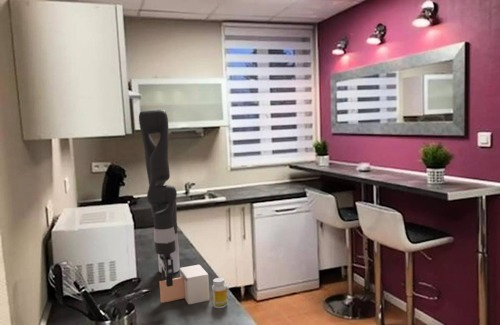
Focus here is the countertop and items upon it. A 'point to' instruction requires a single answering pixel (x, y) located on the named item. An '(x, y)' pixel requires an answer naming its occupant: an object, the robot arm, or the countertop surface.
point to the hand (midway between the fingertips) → (167, 282)
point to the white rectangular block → (195, 284)
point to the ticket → (172, 290)
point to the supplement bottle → (219, 293)
